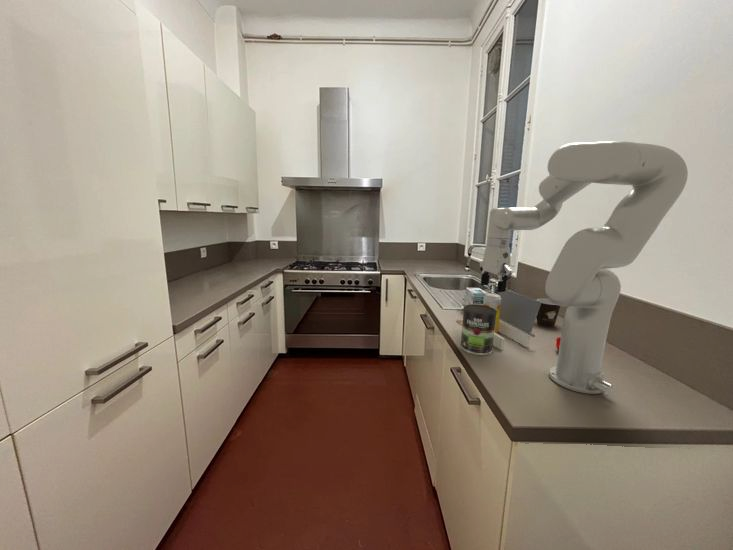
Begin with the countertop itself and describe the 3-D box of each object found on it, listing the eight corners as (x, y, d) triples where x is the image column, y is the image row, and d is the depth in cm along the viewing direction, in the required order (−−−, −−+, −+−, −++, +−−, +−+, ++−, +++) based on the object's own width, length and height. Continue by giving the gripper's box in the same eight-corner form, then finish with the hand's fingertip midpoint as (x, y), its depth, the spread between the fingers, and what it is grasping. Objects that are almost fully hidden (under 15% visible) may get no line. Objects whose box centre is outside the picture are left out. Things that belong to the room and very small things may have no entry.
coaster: (483, 325, 121) (483, 324, 120) (463, 327, 119) (463, 326, 118) (471, 318, 129) (471, 317, 129) (452, 319, 127) (452, 319, 127)
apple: (570, 332, 101) (556, 327, 98) (589, 343, 95) (575, 338, 92) (558, 348, 103) (545, 344, 99) (576, 360, 97) (563, 356, 93)
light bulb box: (486, 316, 132) (488, 293, 130) (471, 316, 132) (473, 293, 130) (478, 309, 143) (479, 287, 140) (464, 308, 143) (465, 287, 140)
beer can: (494, 330, 116) (498, 293, 113) (499, 336, 110) (503, 297, 107) (478, 329, 117) (482, 292, 114) (483, 335, 111) (486, 297, 108)
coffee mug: (557, 323, 124) (561, 300, 122) (557, 330, 117) (561, 306, 115) (526, 318, 130) (529, 296, 128) (524, 324, 123) (527, 301, 121)
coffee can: (491, 358, 93) (496, 315, 90) (458, 351, 97) (461, 310, 94) (493, 345, 102) (497, 306, 99) (462, 340, 106) (465, 302, 104)
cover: (528, 334, 100) (530, 335, 101) (539, 301, 99) (542, 302, 99) (491, 315, 119) (494, 316, 119) (500, 287, 117) (503, 288, 118)
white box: (533, 348, 100) (535, 334, 99) (503, 352, 97) (505, 337, 96) (490, 324, 122) (491, 312, 121) (465, 326, 119) (466, 314, 118)
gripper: (524, 245, 99) (517, 294, 103) (491, 240, 116) (487, 282, 119) (504, 245, 97) (498, 295, 101) (474, 240, 114) (470, 283, 118)
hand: (492, 288), depth 110 cm, fingers open, 9 cm apart
